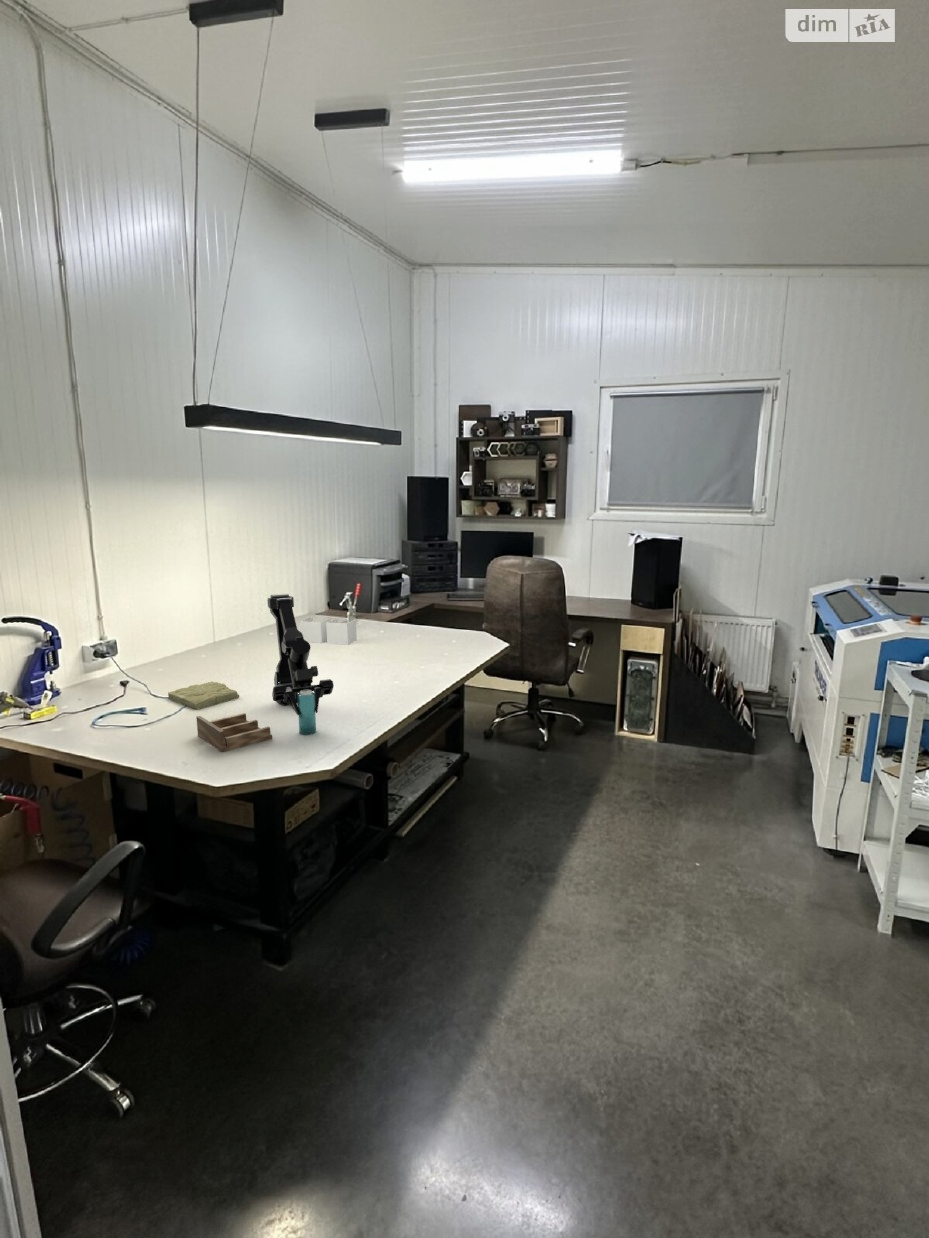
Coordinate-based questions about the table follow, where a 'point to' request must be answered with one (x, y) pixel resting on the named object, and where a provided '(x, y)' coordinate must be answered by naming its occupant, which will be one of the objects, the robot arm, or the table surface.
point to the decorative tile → (203, 695)
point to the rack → (231, 732)
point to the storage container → (328, 631)
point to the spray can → (306, 712)
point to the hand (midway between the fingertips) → (307, 713)
